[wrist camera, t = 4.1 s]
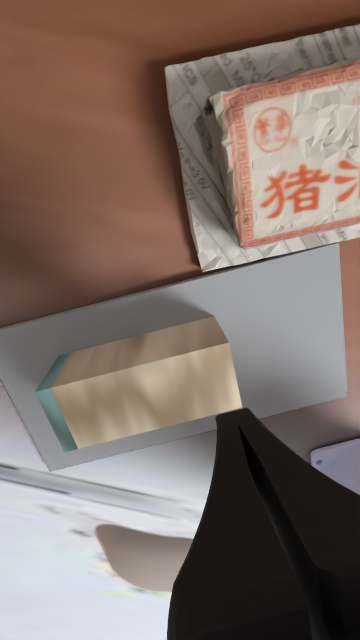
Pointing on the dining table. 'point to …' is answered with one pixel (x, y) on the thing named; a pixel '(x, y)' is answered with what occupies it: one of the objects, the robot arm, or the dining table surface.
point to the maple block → (140, 384)
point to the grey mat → (190, 305)
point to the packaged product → (270, 146)
